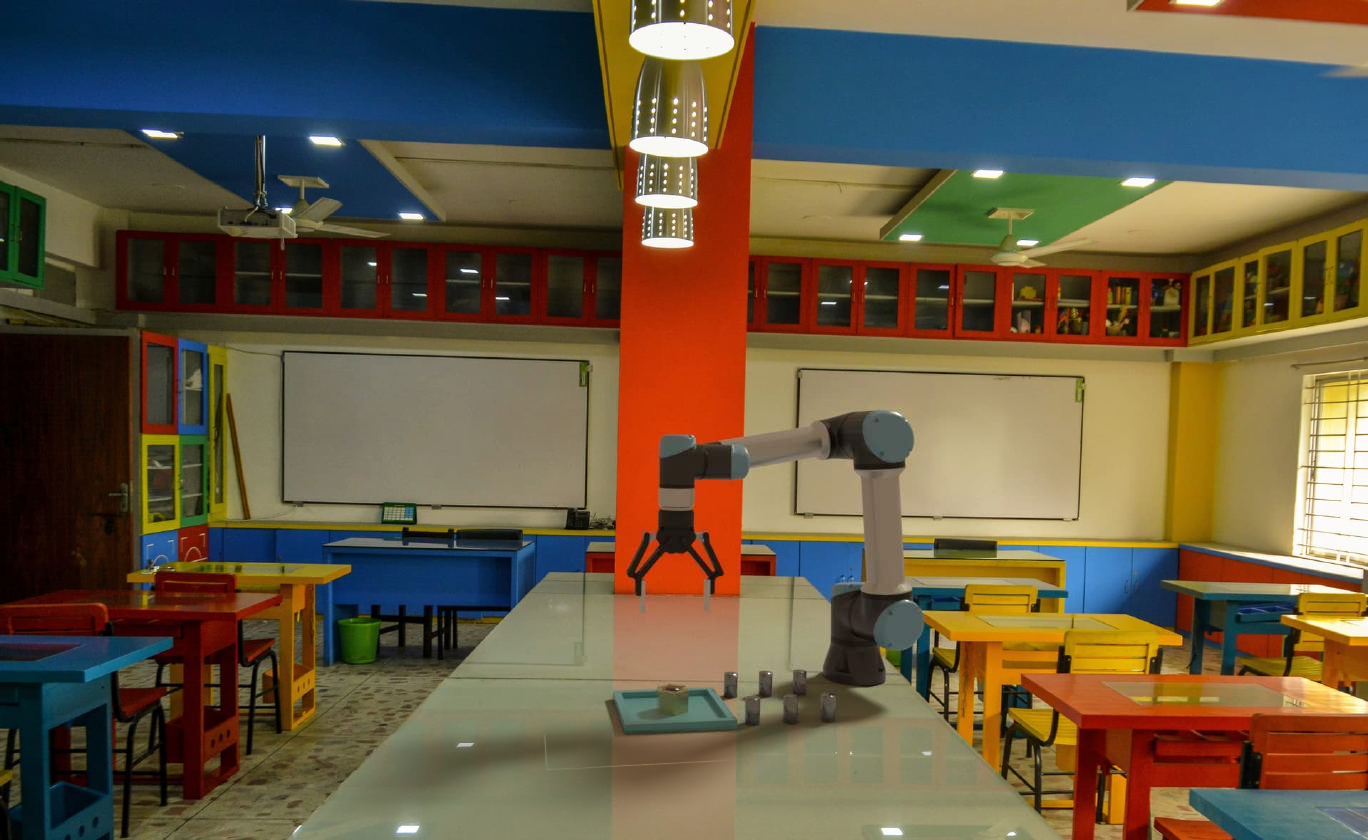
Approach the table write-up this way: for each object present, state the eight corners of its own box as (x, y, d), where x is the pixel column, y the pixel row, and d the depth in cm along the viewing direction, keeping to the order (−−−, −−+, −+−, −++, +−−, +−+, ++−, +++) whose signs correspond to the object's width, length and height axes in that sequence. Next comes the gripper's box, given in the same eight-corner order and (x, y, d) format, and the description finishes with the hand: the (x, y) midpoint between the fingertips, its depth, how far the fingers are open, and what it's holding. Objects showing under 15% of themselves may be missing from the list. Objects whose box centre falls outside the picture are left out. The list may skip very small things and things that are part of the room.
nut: (683, 704, 176) (683, 682, 177) (689, 715, 170) (690, 692, 170) (655, 705, 175) (655, 683, 175) (660, 716, 168) (661, 693, 169)
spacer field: (803, 691, 190) (804, 669, 190) (837, 721, 169) (838, 697, 169) (722, 694, 186) (722, 671, 186) (747, 725, 166) (747, 700, 166)
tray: (712, 695, 185) (712, 687, 185) (737, 729, 164) (737, 719, 164) (612, 698, 181) (612, 690, 181) (624, 734, 159) (625, 724, 159)
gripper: (730, 507, 180) (728, 606, 179) (614, 507, 175) (612, 608, 174) (738, 510, 172) (737, 613, 172) (618, 509, 168) (616, 616, 167)
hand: (674, 611), depth 173 cm, fingers open, 13 cm apart
